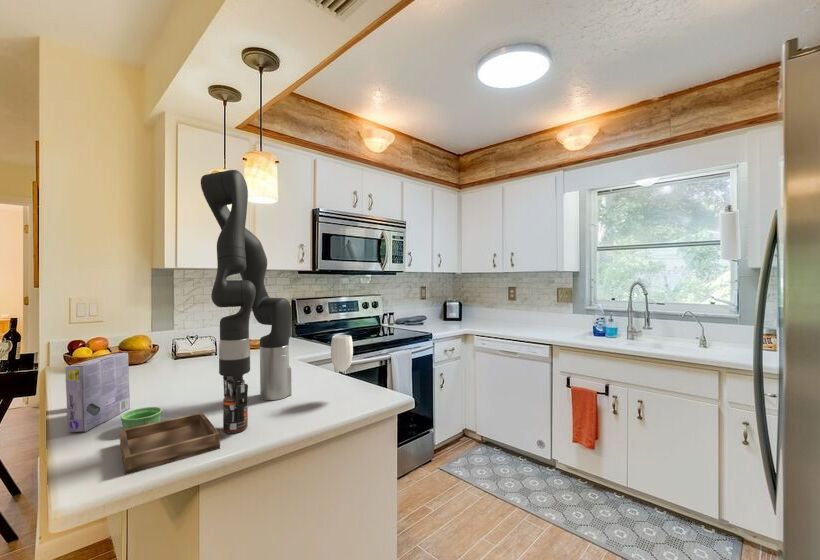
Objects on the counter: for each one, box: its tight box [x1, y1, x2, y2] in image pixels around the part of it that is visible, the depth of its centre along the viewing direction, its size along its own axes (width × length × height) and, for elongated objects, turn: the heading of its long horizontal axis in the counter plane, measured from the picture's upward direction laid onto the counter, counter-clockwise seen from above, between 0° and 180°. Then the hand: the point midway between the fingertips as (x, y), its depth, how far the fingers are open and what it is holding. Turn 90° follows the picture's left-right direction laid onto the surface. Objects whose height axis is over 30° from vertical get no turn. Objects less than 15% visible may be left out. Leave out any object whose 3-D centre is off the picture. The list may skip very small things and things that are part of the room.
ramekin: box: [120, 406, 163, 430], centre depth 101 cm, size 9×9×4 cm
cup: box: [330, 334, 354, 373], centre depth 124 cm, size 7×7×21 cm
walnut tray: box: [119, 412, 221, 476], centre depth 90 cm, size 18×18×4 cm
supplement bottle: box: [222, 388, 249, 434], centre depth 100 cm, size 6×6×11 cm
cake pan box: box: [64, 352, 131, 433], centre depth 107 cm, size 19×5×18 cm, turn 4°
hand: (235, 417), depth 100 cm, fingers closed on supplement bottle, 6 cm apart
